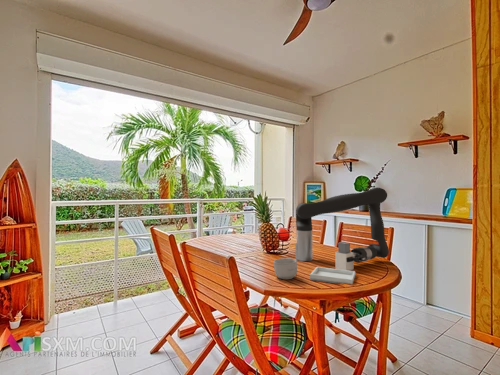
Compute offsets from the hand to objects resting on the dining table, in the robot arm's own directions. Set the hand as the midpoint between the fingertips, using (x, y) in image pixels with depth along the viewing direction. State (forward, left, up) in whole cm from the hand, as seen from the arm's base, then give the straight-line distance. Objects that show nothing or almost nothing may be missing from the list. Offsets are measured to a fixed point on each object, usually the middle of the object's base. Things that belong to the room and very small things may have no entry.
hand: (341, 258), depth 137 cm
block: (+1, +2, -5) cm, 6 cm away
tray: (-2, -14, -6) cm, 15 cm away
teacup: (-22, -21, -6) cm, 31 cm away
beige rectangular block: (+1, +2, -6) cm, 7 cm away
